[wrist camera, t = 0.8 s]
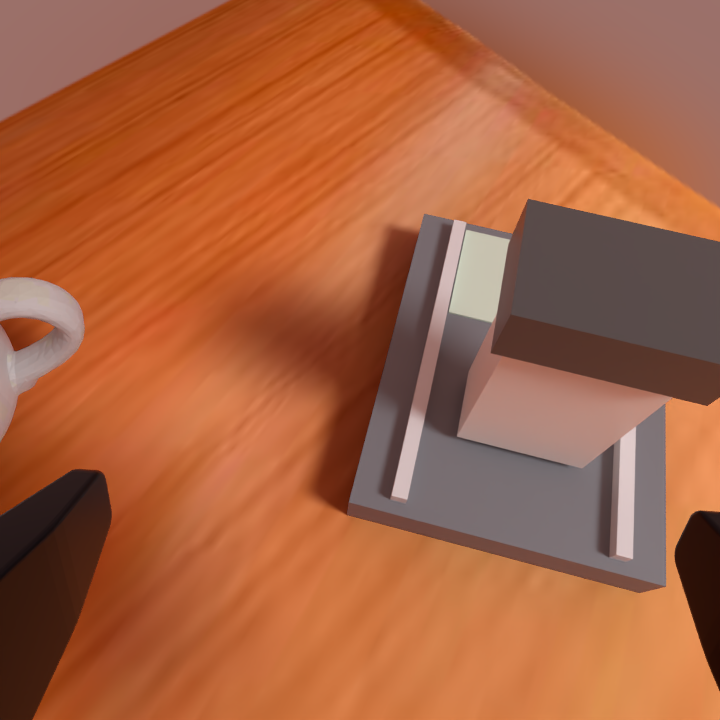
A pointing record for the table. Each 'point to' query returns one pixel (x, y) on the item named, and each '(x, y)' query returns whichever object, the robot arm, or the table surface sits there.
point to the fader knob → (593, 334)
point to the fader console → (490, 463)
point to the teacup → (23, 368)
